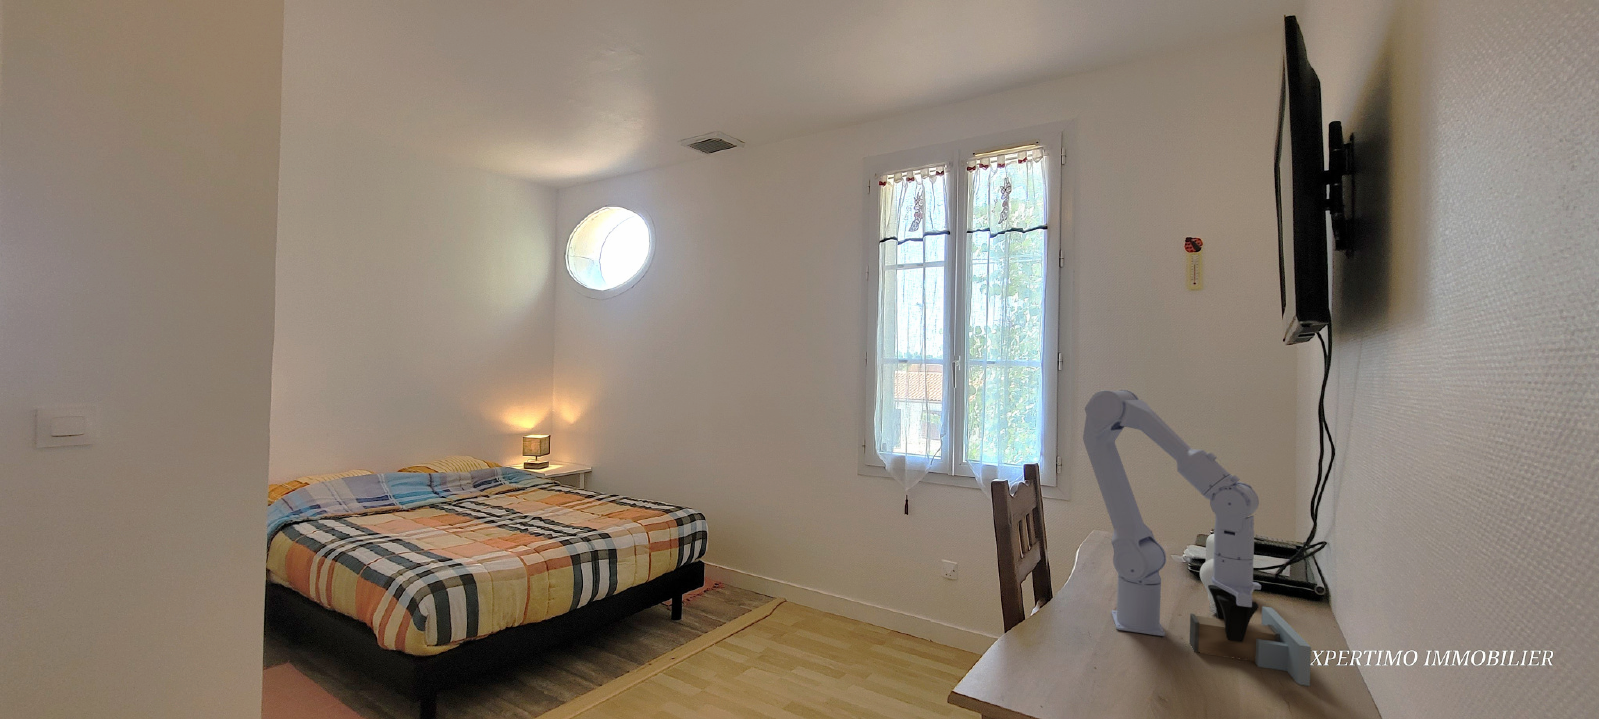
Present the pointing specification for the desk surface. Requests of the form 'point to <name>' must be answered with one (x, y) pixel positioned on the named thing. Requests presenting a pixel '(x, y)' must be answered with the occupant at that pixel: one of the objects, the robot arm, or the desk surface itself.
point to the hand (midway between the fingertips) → (1230, 635)
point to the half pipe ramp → (1213, 639)
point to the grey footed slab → (1284, 649)
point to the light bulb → (1208, 581)
